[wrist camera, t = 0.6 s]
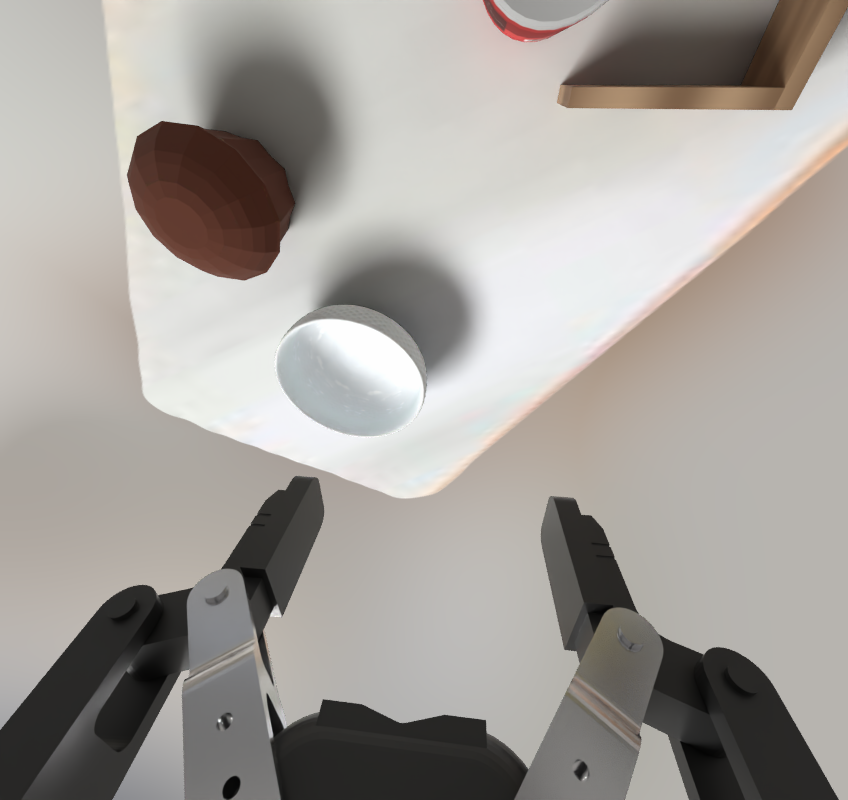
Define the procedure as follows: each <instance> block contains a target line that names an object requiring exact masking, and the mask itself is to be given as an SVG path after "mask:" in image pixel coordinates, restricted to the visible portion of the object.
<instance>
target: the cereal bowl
mask: <svg viewBox="0 0 848 800" xmlns="http://www.w3.org/2000/svg"><path fill="white" fill-rule="evenodd" d="M275 373H276V376H277V380H278V382H279V384H280V387H281V388H282V390H283V392H284V393H285V395H286V396H287V398H288V399H289V400H290V401H291V402H292V404H293V405H294V406H295V407H296V408H297V409H298V410H299V411H301V412H302V413H303V414H304V415H306V416H307V417H308V418H310V419H311V420H312V421H314V422H316V423H317V424H319V425H321V426H323V427H325V428H327V429H330V430H332V431H335V432H338V433H341V434H345V435H350V436H355V437H380V436H385V435H389V434H392V433H395V432H397V431H400V430H401V429H403V428H405V427H406V426H408V425H409V424H410V423H411V422H412V421H413V420H414V419H415V418H416V417H417V415H418V414H419V412H420V410H421V408H422V405H423V403H424V399H425V393H426V387H427V376H426V374H427V371H426V365H425V363H424V359H423V357H422V354H421V352H420V350H419V348H418V345H417V344H416V343H415V341H414V340H413V338H412V337H411V336H410V335H409V333H407V332H406V331H405V330H404V329H403V328H402V327H401V326H400V325H399V324H398V323H396V322H395V321H394V320H392V319H391V318H389V317H387V316H385V315H384V314H381V313H380V312H377V311H376V310H372V309H368V308H366V307H362V306H355V305H345V304H343V305H332V306H327V307H323V308H320V309H317V310H315V311H313V312H311V313H308V314H307V315H306V316H304V317H302V318H301V319H300V320H299V321H297V322H296V323H295V324H294V325H293V326H292V327H291V328H290V329H289V330H288V331H287V333H286V334H285V335H284V337H283V338H282V340H281V341H280V343H279V345H278V348H277V351H276V355H275Z"/></svg>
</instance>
